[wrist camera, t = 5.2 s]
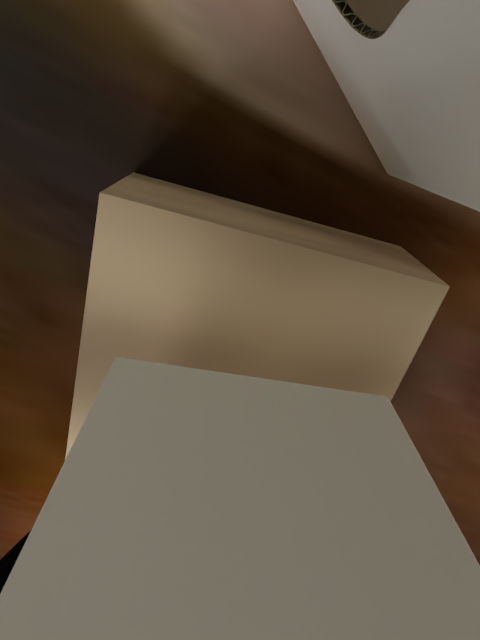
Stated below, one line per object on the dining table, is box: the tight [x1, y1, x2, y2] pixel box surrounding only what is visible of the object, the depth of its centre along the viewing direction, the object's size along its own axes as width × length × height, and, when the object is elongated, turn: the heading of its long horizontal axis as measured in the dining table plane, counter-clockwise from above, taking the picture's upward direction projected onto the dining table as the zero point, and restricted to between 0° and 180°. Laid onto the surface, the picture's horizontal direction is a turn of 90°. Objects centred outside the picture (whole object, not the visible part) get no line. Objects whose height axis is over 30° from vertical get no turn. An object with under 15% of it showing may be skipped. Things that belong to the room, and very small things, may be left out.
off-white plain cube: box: [0, 357, 480, 640], centre depth 7 cm, size 5×5×6 cm
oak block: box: [65, 173, 450, 460], centre depth 14 cm, size 9×9×4 cm
